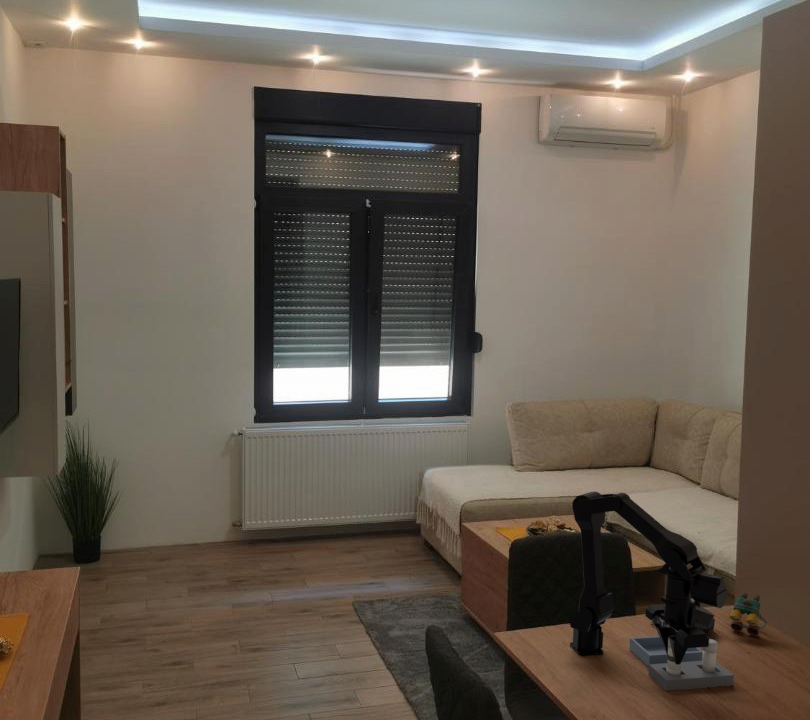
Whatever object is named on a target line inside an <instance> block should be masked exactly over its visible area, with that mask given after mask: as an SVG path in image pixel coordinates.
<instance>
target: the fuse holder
mask: <svg viewBox="0 0 810 720" xmlns="http://www.w3.org/2000/svg"><path fill="white" fill-rule="evenodd" d="M666 666H667V663H662V664H649V667H648V676H649V677H650V678H652V680H653V681H654V682H656V683H657V684H658V685H659V686H660V687H661V688H662V689H663V690H665V692H667V691H669V692H670V691H679V690H691V689H692V690H694V689H695V690H696V689H707V687H709V688H718V687H717V686H722V687H731V685H732V687H733V686H734V681H735V675H734V674H733V673H732V672H731V671H729V670H728V669H727V668H726V667H724V666H723V665H722V664H720V663H719V662H718V661H717V660H716V668H715V671H716V672H712V673H705V672H704V671H703V670H701V669H702V661H691V662H681V675H669V674H668V673H666Z"/></svg>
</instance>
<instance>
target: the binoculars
mask: <svg viewBox="0 0 810 720" xmlns="http://www.w3.org/2000/svg"><path fill="white" fill-rule="evenodd" d="M760 599H761V595H758V594H755V595H754V596H753V599H748V594H747V592H744V591H742V592H741V597H738V598H737V599H736V602H735V603H734V606H733V609H732V610H731V611H730V613H729V617H728V618H729V619H730V620H732V621H731V623H730V625H729V626H730V628H731V630H733V631H735V632H742V631H743V629H744V628H746V632H747V633H748V634H749V635H750V636H753V637H754V636H759V635H760V630H762V629H764V628H765V627H766V626H767V624H768V622H767V620H766V619H765V617H763V616H762V614H761V613H760V612H761V611H760V608H761V603H760ZM745 614H746V616H747V617H746V619H745V622H746V624H744V622H742V617H743V615H745ZM760 620H761V621H763V622H764V625H762V626H759V621H760Z"/></svg>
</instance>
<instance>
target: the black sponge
mask: <svg viewBox="0 0 810 720" xmlns="http://www.w3.org/2000/svg"><path fill="white" fill-rule="evenodd" d="M649 622H650V624H651V623H652V624H653V625H652V624H651V625H652V626H654V624H657V618H656V616H655V618H654V619H653V620H650V619H649ZM715 622H716V619H715V617H714V618H713V621H712V623H711V626H710V628H708V627H706V626H704V625H701V624H698V623H696V625H695V626H691V625H688V628H699V629H700V630H702V631H703V632H704V633H706V634H707V635H708V636H709V634H710V633H711V631H713V630H714V628H715Z"/></svg>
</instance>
